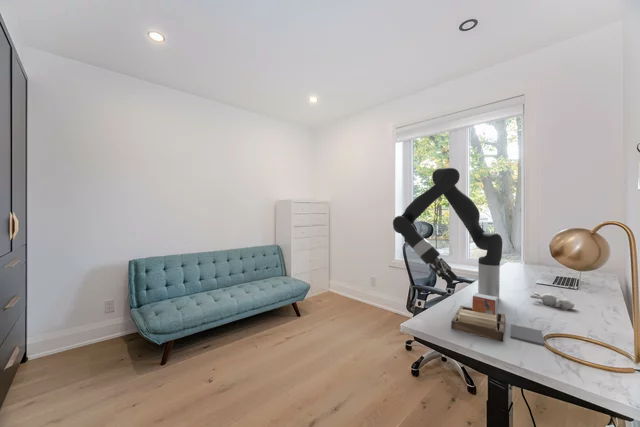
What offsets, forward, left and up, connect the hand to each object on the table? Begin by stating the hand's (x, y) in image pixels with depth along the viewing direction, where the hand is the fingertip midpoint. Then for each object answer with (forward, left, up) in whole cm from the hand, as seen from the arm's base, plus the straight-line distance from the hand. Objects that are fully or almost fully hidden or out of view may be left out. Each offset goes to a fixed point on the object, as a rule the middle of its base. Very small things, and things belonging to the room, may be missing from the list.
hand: (453, 281), depth 112 cm
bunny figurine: (-42, +35, -15) cm, 56 cm away
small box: (0, +11, -15) cm, 19 cm away
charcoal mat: (+3, +24, -15) cm, 29 cm away
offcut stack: (+10, +10, -15) cm, 20 cm away
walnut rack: (+4, +10, -15) cm, 18 cm away
